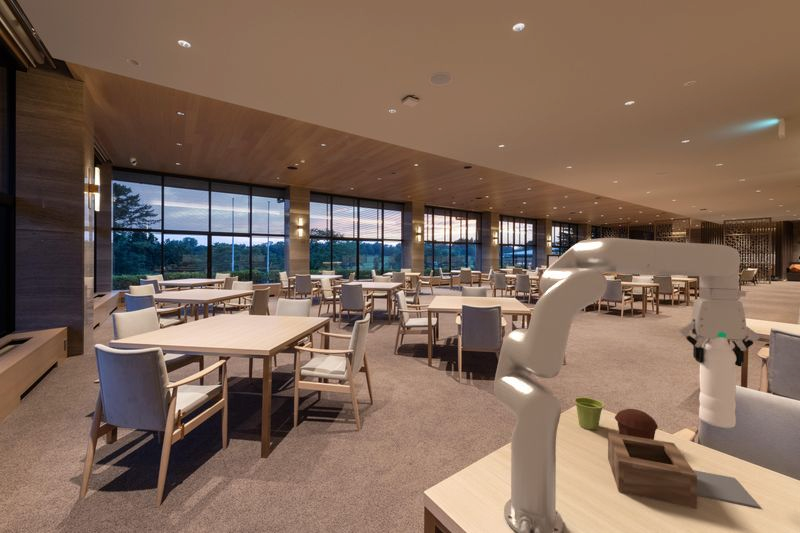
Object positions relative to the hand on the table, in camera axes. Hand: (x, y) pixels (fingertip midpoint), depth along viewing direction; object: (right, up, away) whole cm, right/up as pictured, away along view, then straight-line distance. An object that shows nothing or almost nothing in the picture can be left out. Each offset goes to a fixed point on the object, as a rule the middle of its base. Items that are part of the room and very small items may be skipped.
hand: (717, 362), depth 90 cm
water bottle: (0, -16, 0) cm, 16 cm away
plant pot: (-15, -33, +34) cm, 49 cm away
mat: (0, -33, 0) cm, 33 cm away
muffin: (-5, -33, +23) cm, 40 cm away
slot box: (-16, -33, +3) cm, 37 cm away
